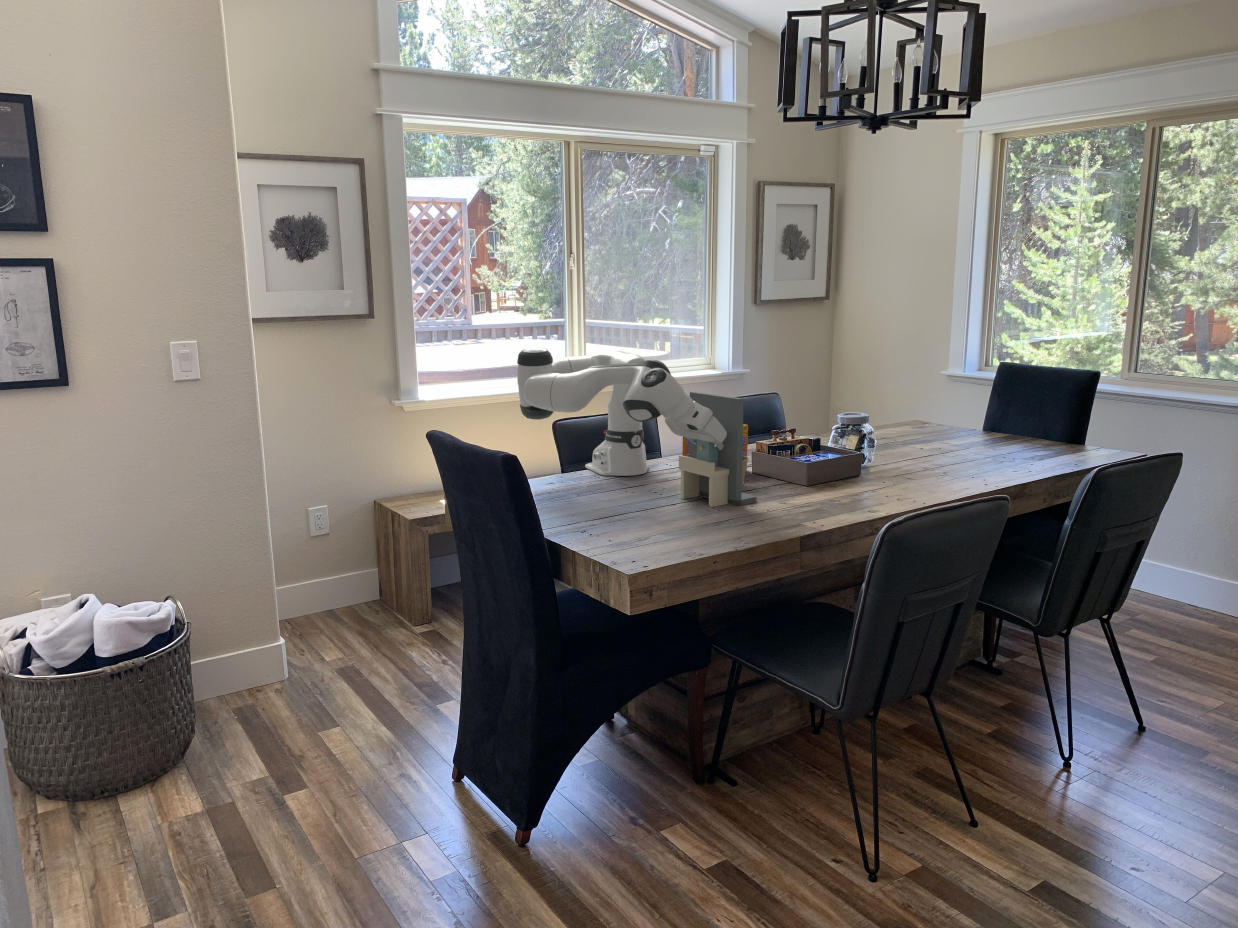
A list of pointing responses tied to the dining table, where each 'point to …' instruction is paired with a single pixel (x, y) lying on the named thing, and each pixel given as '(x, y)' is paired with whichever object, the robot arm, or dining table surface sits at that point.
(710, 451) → the small cabinet
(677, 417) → the robot arm
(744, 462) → the flower pot
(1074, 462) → the dining table surface
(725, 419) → the wall board
